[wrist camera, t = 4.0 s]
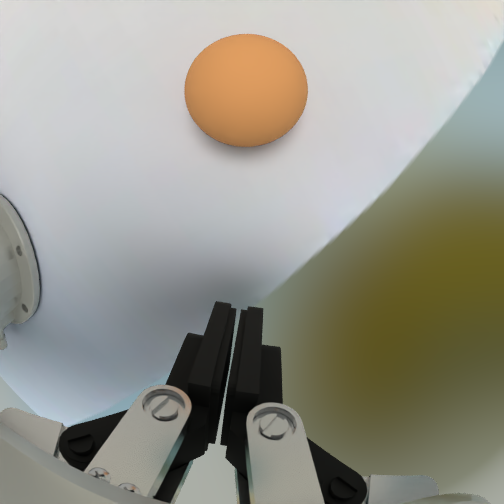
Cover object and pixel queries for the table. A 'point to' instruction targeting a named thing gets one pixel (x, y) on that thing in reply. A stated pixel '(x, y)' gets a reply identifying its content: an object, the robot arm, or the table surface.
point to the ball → (246, 90)
